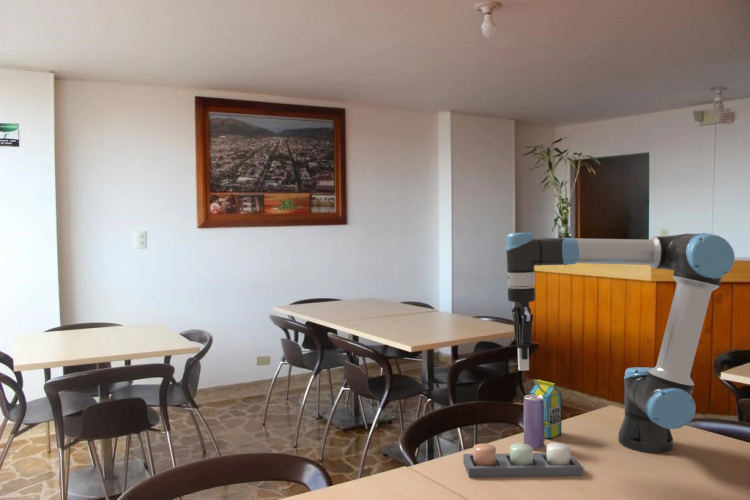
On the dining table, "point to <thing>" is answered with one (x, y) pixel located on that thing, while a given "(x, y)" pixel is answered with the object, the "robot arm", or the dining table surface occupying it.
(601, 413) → the dining table surface
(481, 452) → the terracotta button
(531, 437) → the beverage can
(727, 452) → the dining table surface
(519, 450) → the sage button
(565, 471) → the dark grey flat tray
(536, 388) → the carton
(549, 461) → the ivory button
